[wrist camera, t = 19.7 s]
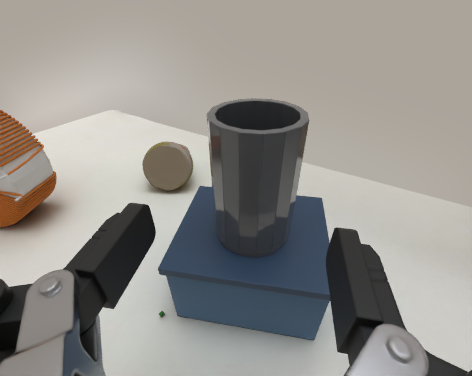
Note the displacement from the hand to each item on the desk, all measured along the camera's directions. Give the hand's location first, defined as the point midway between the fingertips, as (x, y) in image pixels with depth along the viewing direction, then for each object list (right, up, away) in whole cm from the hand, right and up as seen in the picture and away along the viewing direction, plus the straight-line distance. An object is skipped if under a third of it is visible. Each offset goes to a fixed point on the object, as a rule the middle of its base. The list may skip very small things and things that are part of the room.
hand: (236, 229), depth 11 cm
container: (+1, -7, +15) cm, 17 cm away
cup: (+1, -2, +10) cm, 11 cm away
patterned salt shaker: (-10, +4, +31) cm, 32 cm away
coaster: (-6, -10, +12) cm, 17 cm away
